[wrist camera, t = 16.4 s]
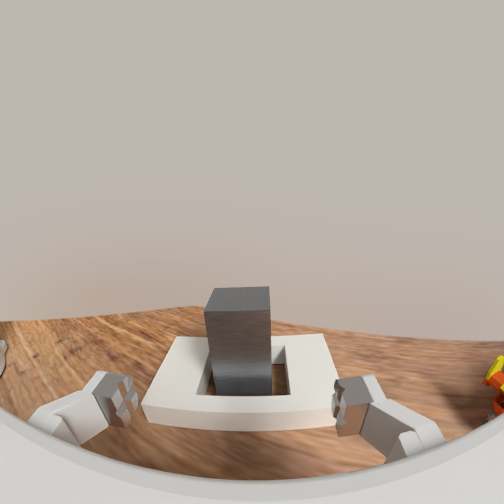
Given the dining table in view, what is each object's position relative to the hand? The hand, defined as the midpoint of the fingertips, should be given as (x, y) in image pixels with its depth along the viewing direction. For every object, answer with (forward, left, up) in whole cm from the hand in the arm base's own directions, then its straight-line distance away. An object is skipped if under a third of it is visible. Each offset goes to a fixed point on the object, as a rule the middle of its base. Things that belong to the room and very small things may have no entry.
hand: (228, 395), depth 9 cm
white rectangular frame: (-1, +13, -11) cm, 17 cm away
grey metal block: (-1, +13, -11) cm, 17 cm away
